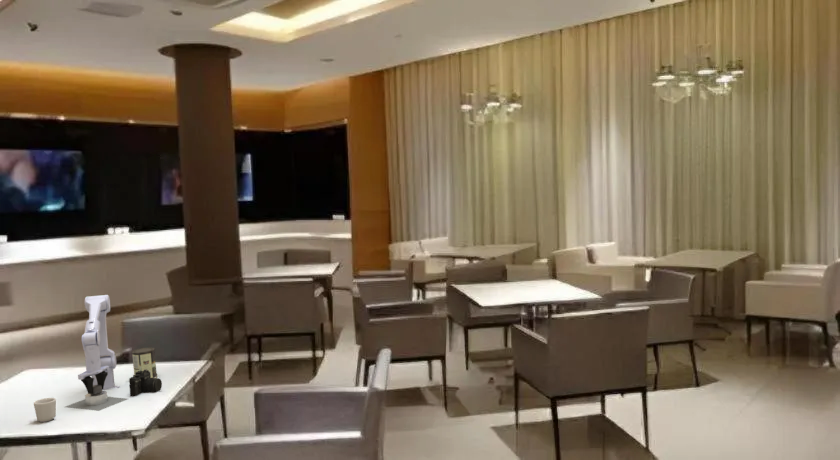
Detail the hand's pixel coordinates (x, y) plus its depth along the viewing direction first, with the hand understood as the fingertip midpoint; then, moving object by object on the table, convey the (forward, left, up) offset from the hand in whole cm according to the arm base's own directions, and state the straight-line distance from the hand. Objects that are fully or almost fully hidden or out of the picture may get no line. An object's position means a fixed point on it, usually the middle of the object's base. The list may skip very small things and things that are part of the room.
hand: (95, 391), depth 304 cm
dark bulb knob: (0, 0, -4) cm, 4 cm away
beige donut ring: (0, 0, -5) cm, 5 cm away
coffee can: (-10, +38, -6) cm, 40 cm away
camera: (+10, +18, -6) cm, 22 cm away
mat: (0, 0, -6) cm, 6 cm away
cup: (-6, -19, -6) cm, 21 cm away
